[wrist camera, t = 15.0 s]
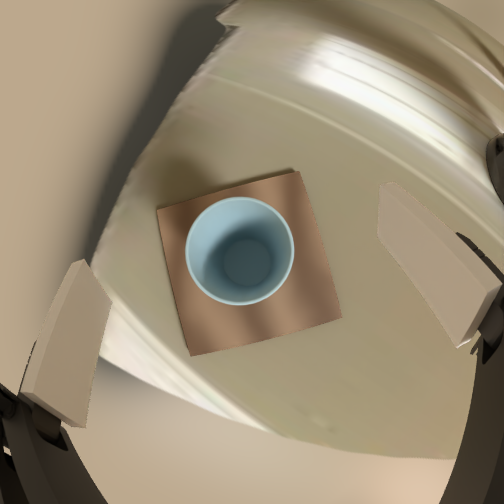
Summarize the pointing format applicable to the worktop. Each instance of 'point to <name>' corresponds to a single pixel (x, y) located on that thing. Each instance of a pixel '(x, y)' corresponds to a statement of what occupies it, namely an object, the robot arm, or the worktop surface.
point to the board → (271, 308)
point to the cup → (239, 250)
